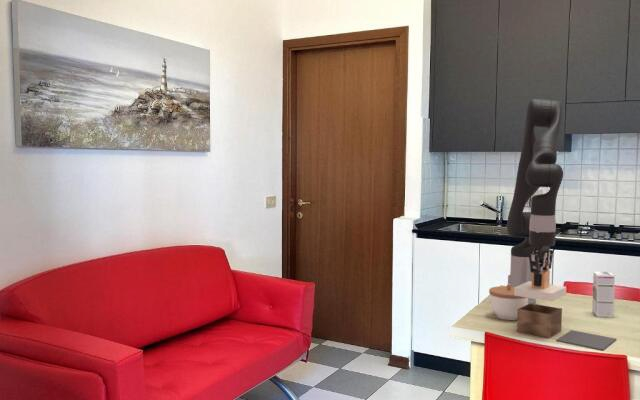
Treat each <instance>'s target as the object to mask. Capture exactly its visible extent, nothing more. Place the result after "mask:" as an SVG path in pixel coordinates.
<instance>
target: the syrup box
mask: <svg viewBox="0 0 640 400" xmlns="http://www.w3.org/2000/svg"><path fill="white" fill-rule="evenodd" d="M592 277H593V278H592V280H593V281H592V310H591V311H592V313H593V314H594V316H595V317H598V318H614V316H615V315H614V314H615V278H616V277H615V274H613V273H612V272H611V271H593V276H592Z"/></svg>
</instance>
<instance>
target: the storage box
mask: <svg viewBox="0 0 640 400" xmlns="http://www.w3.org/2000/svg"><path fill="white" fill-rule="evenodd" d="M562 317H563V308H561V307H554V306H549V305H543V304H538V303H533V304H532V303H530V304H527V305H525V306H523V307H521V308H519V309H517V320H516V332H517V333H522V334H527V335H532V336H536V337H537V336H538V337H541V338H542V337H543V338H547V339H550V338H552V337H553V336H555V335H557V334H559V333H560V332H561V331H562V326H563V325H562V323H563V322H562V321H563V318H562Z"/></svg>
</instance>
